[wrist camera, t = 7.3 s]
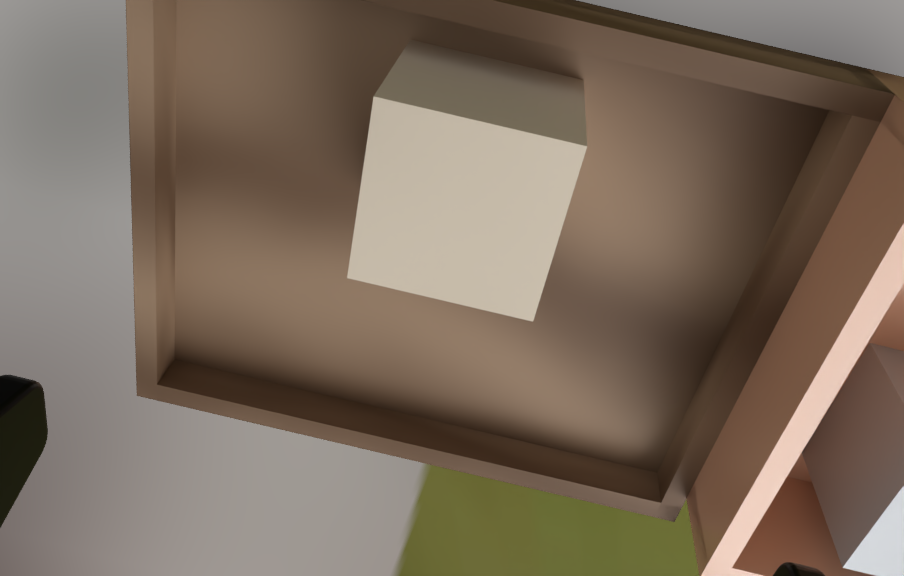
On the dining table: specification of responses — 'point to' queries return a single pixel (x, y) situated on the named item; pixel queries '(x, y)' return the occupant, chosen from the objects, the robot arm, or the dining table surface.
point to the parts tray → (457, 326)
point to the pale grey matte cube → (864, 465)
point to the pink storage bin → (807, 377)
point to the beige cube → (467, 179)
